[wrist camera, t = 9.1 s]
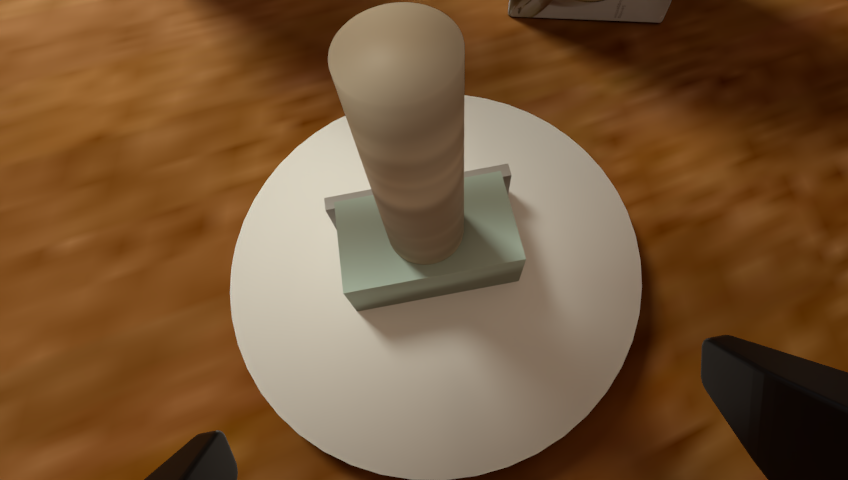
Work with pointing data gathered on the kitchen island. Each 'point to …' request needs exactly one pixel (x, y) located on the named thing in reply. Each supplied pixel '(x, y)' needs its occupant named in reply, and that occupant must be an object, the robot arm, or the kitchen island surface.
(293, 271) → the white plate
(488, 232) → the rubber stamp
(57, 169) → the kitchen island surface
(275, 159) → the kitchen island surface
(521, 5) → the coffee box
